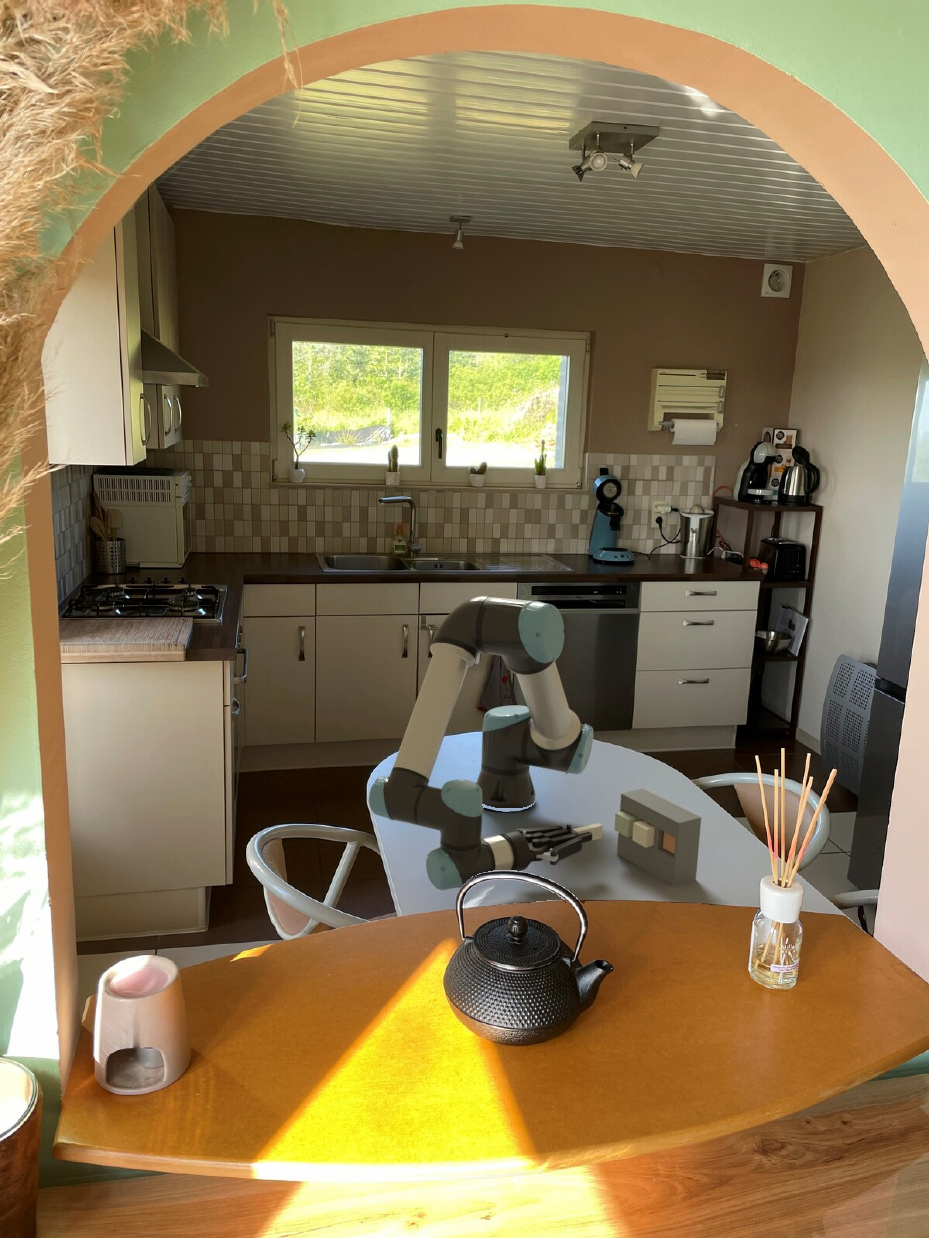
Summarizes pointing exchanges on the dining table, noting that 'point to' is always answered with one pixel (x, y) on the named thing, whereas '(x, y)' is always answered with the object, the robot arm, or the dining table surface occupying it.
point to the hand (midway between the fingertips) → (599, 830)
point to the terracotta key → (669, 842)
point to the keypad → (665, 820)
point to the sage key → (624, 823)
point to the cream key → (644, 833)
